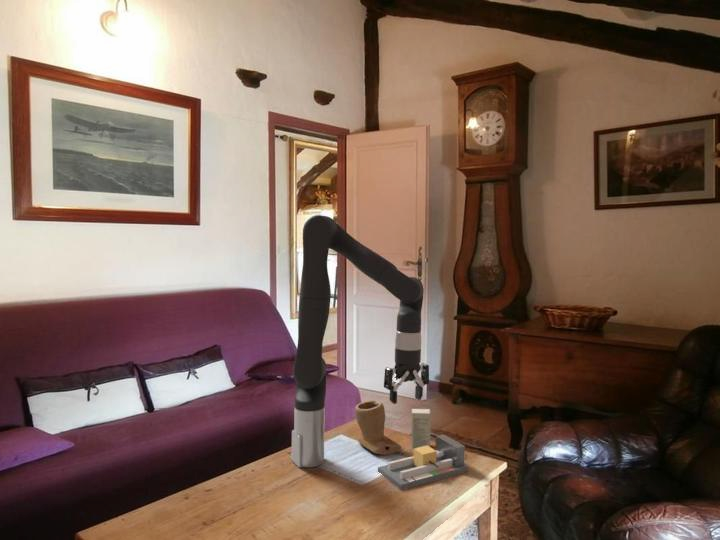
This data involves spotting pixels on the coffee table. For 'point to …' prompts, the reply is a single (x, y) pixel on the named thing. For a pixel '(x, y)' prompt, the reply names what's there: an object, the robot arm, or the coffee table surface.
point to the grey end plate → (451, 450)
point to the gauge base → (418, 472)
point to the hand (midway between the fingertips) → (406, 401)
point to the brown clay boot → (374, 428)
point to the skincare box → (420, 428)
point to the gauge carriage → (426, 456)
